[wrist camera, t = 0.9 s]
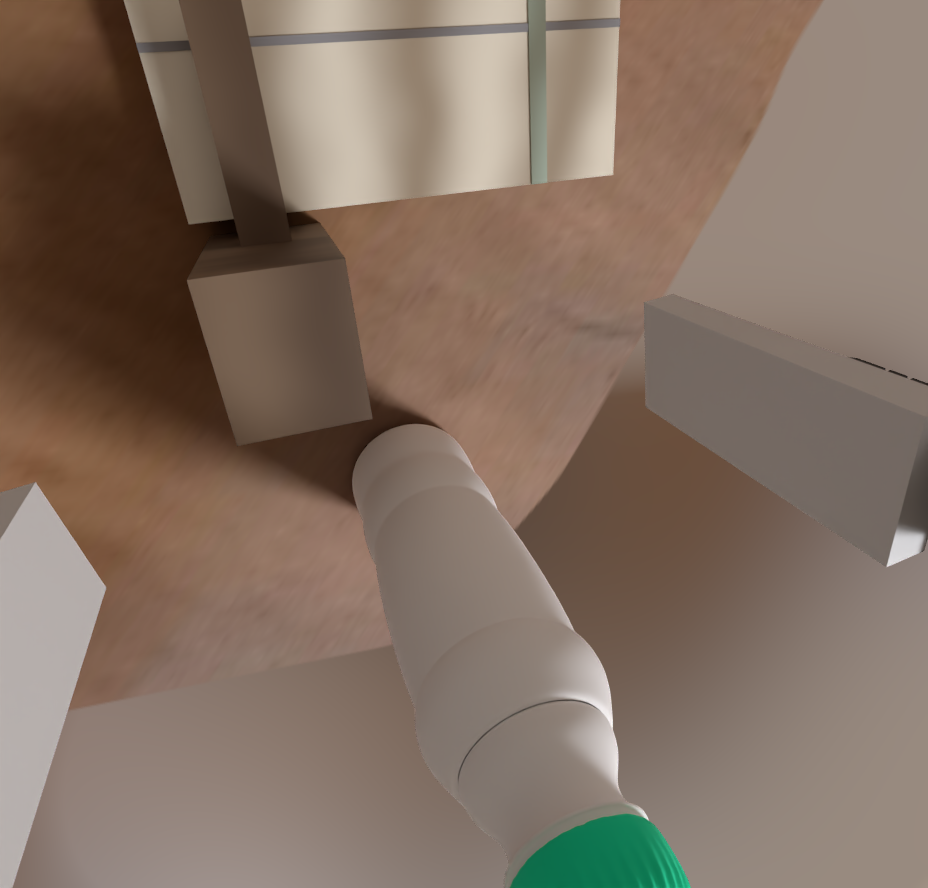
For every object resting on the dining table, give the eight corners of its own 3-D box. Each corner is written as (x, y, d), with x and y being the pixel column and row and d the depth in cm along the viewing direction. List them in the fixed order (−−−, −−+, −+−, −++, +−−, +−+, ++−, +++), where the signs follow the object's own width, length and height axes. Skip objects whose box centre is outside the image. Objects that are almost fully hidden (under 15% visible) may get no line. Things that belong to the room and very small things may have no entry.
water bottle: (331, 504, 35) (438, 1066, 14) (379, 402, 33) (592, 875, 12) (433, 531, 38) (648, 1022, 17) (483, 440, 36) (797, 866, 15)
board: (193, 219, 26) (188, 224, 24) (101, -105, 21) (86, -128, 19) (593, 172, 31) (613, 174, 29) (600, -104, 25) (626, -122, 24)
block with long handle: (244, 358, 30) (237, 446, 21) (151, 23, 23) (87, -45, 14) (341, 342, 31) (372, 418, 22) (281, 18, 24) (292, -49, 16)
